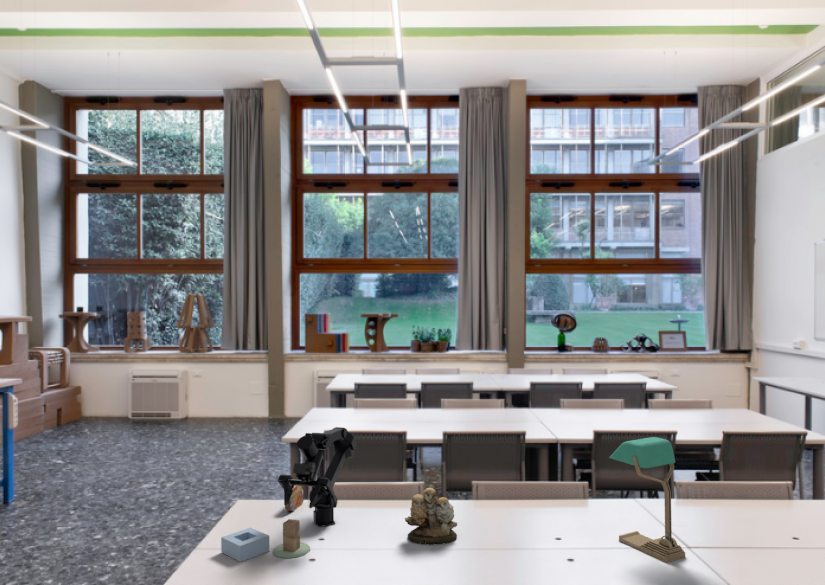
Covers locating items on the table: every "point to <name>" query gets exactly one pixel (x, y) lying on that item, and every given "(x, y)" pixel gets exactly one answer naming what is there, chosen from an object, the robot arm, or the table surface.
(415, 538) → the owl figurine
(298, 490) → the tin
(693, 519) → the table surface
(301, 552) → the sage-green mat
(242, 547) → the slate-blue holder
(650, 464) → the banker's lamp
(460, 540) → the table surface
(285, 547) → the walnut peg
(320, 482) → the robot arm
